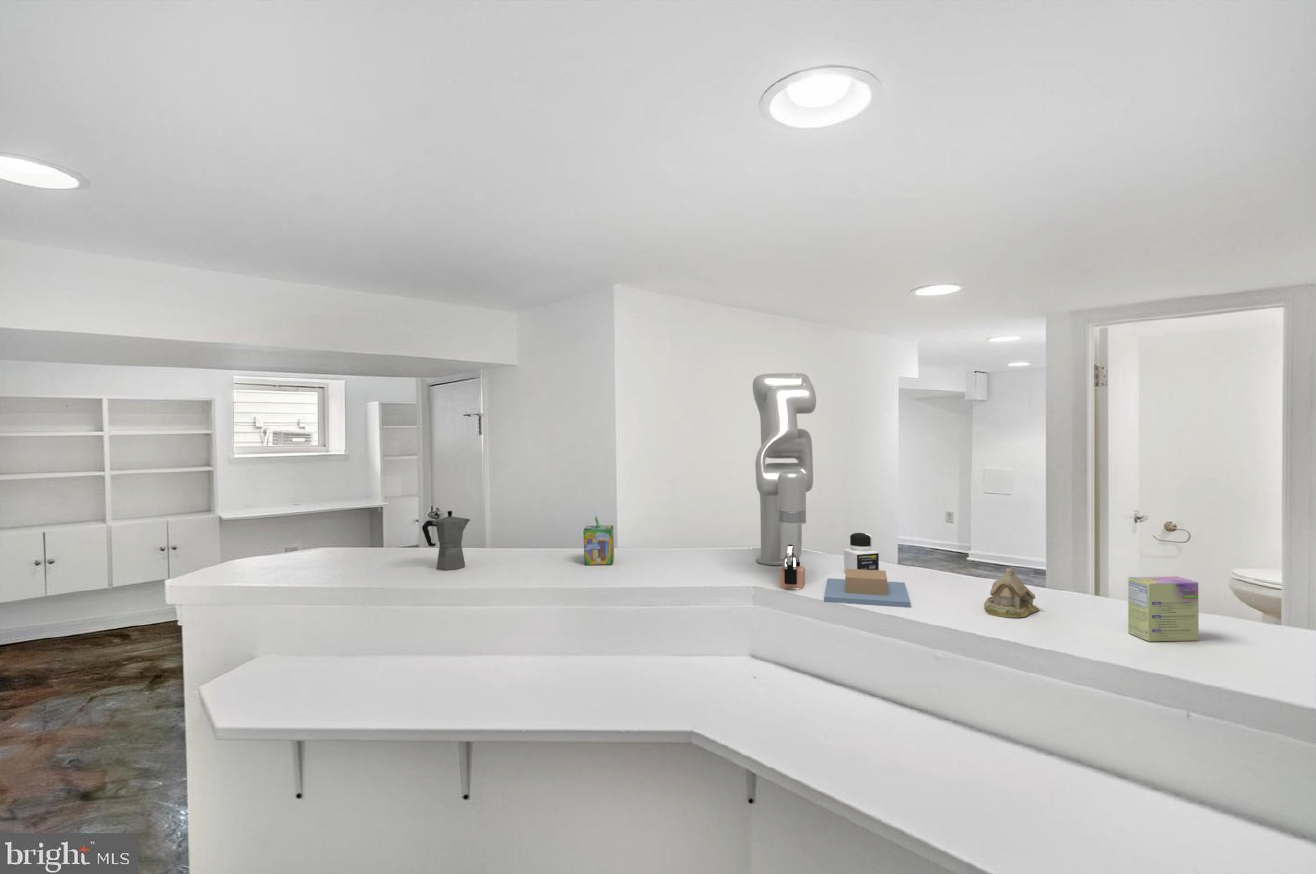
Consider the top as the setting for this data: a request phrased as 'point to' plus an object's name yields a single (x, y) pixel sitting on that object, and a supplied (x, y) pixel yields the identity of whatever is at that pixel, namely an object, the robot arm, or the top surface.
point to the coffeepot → (448, 541)
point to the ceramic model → (1010, 597)
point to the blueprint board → (888, 600)
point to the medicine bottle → (861, 553)
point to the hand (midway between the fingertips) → (792, 579)
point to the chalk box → (598, 544)
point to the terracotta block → (800, 578)
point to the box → (1163, 608)
